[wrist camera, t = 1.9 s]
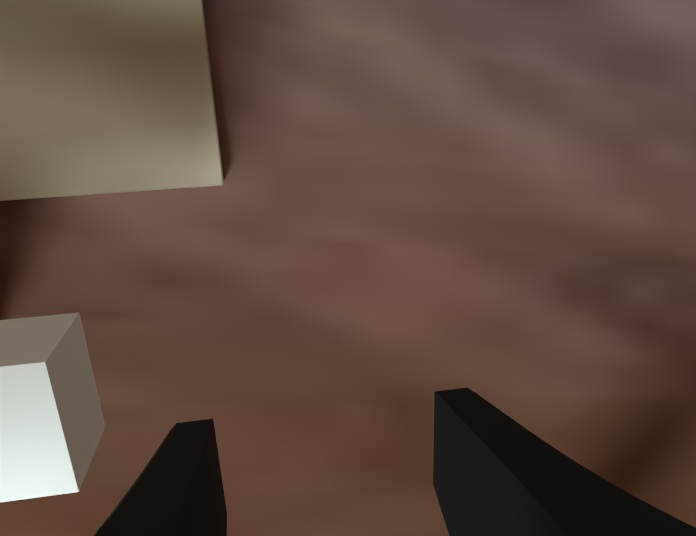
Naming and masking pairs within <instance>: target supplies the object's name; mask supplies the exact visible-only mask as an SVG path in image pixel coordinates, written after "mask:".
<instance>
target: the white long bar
mask: <svg viewBox="0 0 696 536" xmlns="http://www.w3.org/2000/svg"><path fill="white" fill-rule="evenodd" d="M104 429H105V423H104V419H103V415H102V410H101V406H100V401H99V397H98V393H97V388H96V384H95V379H94V375H93V371H92V366H91V362H90V357H89V353H88V348H87V344H86V340H85V335H84V331H83V326H82V322H81V318H80V313H70V314H60V315H49V316H39V317H28V318H18V319H7V320H0V502H7V501H14V500H22V499H29V498H37V497H44V496H52V495H59V494H67V493H74V492H79V490H80V487H81V485H82V483H83V480H84V478H85V475H86V473H87V470H88V468H89V465H90V463H91V460H92V458H93V456H94V453H95V451H96V448H97V446H98V443H99V441H100V438H101V436H102V433H103V431H104Z"/></svg>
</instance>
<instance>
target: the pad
mask: <svg viewBox="0 0 696 536" xmlns="http://www.w3.org/2000/svg"><path fill="white" fill-rule="evenodd" d="M223 182H224V179H223V170H222V162H221V153H220V145H219V137H218V128H217V120H216V111H215V103H214V94H213V86H212V77H211V69H210V60H209V52H208V43H207V35H206V26H205V18H204V9H203V1H202V0H0V201H5V200H19V199H33V198H47V197H61V196H76V195H90V194H104V193H118V192H132V191H147V190H161V189H175V188H189V187H203V186H217V185H223Z"/></svg>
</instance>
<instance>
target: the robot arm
mask: <svg viewBox="0 0 696 536" xmlns="http://www.w3.org/2000/svg"><path fill="white" fill-rule="evenodd" d="M433 484H434V488H435V491H436V494H437V497H438V501H439V504H440V507H441V511H442V514H443V517H444V520H445V523H446V526H447V529H448V532H449V535H450V536H696V528H695V527H693V526H691V525H689V524H687V523H684V522H682V521H681V520H679V519H677V518H675V517H673V516H671V515H669V514H667V513H665V512H663V511H661V510H659V509H657V508H655V507H653V506H651V505H649V504H647V503H646V502H644V501H642V500H640V499H638V498H636V497H634V496H632V495H631V494H629V493H627V492H625V491H623V490H622V489H620V488H618V487H616V486H615V485H613V484H611V483H610V482H608V481H606V480H605V479H603V478H601V477H600V476H598V475H596V474H595V473H593V472H591V471H590V470H588V469H586V468H585V467H583V466H581V465H580V464H578V463H577V462H575V461H573V460H572V459H570V458H569V457H567V456H566V455H564V454H562V453H561V452H559V451H558V450H556V449H555V448H553V447H552V446H550V445H549V444H547V443H546V442H544V441H543V440H542V439H540V438H539V437H537V436H536V435H534V434H533V433H531V432H530V431H528V430H527V429H526V428H524V427H523V426H521V425H520V424H518V423H517V422H516V421H514V420H513V419H511V418H510V417H509V416H507V415H506V414H504V413H503V412H502V411H500V410H499V409H497V408H496V407H495V406H493V405H492V404H490V403H489V402H488V401H486V400H485V399H483V398H482V397H481V396H479V395H478V394H476V393H475V392H473V391H472V390H470V389H469V388H461V389H453V390H445V391H437V392H435V405H434V469H433ZM94 536H227V511H226V505H225V498H224V491H223V484H222V477H221V470H220V464H219V457H218V450H217V443H216V436H215V429H214V423H213V419H207V420H199V421H191V422H183V423H176V424H175V426H174V427H173V428H172V429H171V430H170V432H169V433H168V435H167V436H166V438H165V439H164V441H163V442H162V444H161V445H160V447H159V448H158V450H157V451H156V453H155V454H154V456H153V457H152V458H151V460H150V461H149V463H148V464H147V466H146V467H145V469H144V470H143V471H142V473H141V474H140V476H139V477H138V479H137V480H136V481H135V483H134V484H133V485H132V487H131V488H130V489H129V491H128V492H127V493H126V495H125V496H124V497H123V499H122V500H121V501H120V503H119V504H118V505H117V507H116V508H115V509H114V511H113V512H112V513H111V515H110V516H109V517H108V519H107V520H106V521H105V522H104V524H103V525H102V526H101V527H100V528H99V530H98V531H97V532H96V533H95V534H94Z"/></svg>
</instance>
